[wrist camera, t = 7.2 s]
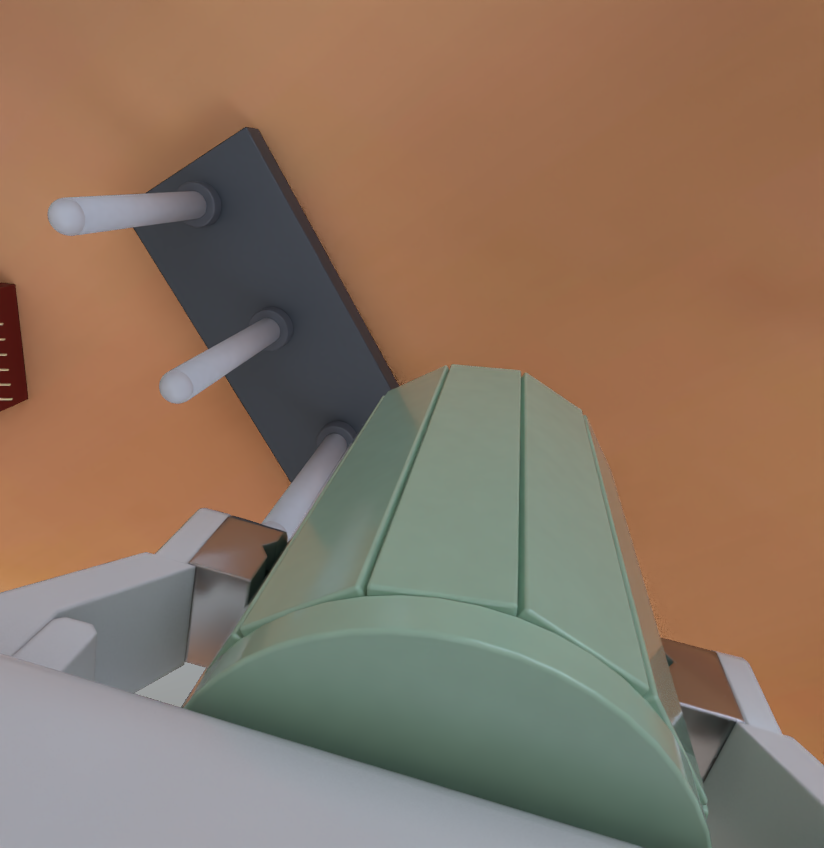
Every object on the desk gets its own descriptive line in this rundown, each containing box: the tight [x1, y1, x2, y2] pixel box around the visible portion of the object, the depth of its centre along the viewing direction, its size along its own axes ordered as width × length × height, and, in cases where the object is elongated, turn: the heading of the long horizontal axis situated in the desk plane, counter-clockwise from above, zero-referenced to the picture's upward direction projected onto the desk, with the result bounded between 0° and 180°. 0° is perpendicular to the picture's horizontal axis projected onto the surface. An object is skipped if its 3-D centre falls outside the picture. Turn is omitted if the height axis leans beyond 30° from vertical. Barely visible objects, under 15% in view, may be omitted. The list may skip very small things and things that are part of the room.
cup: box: [181, 364, 713, 848], centre depth 11 cm, size 6×6×9 cm
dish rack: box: [48, 127, 399, 541], centre depth 29 cm, size 23×8×12 cm, turn 29°
